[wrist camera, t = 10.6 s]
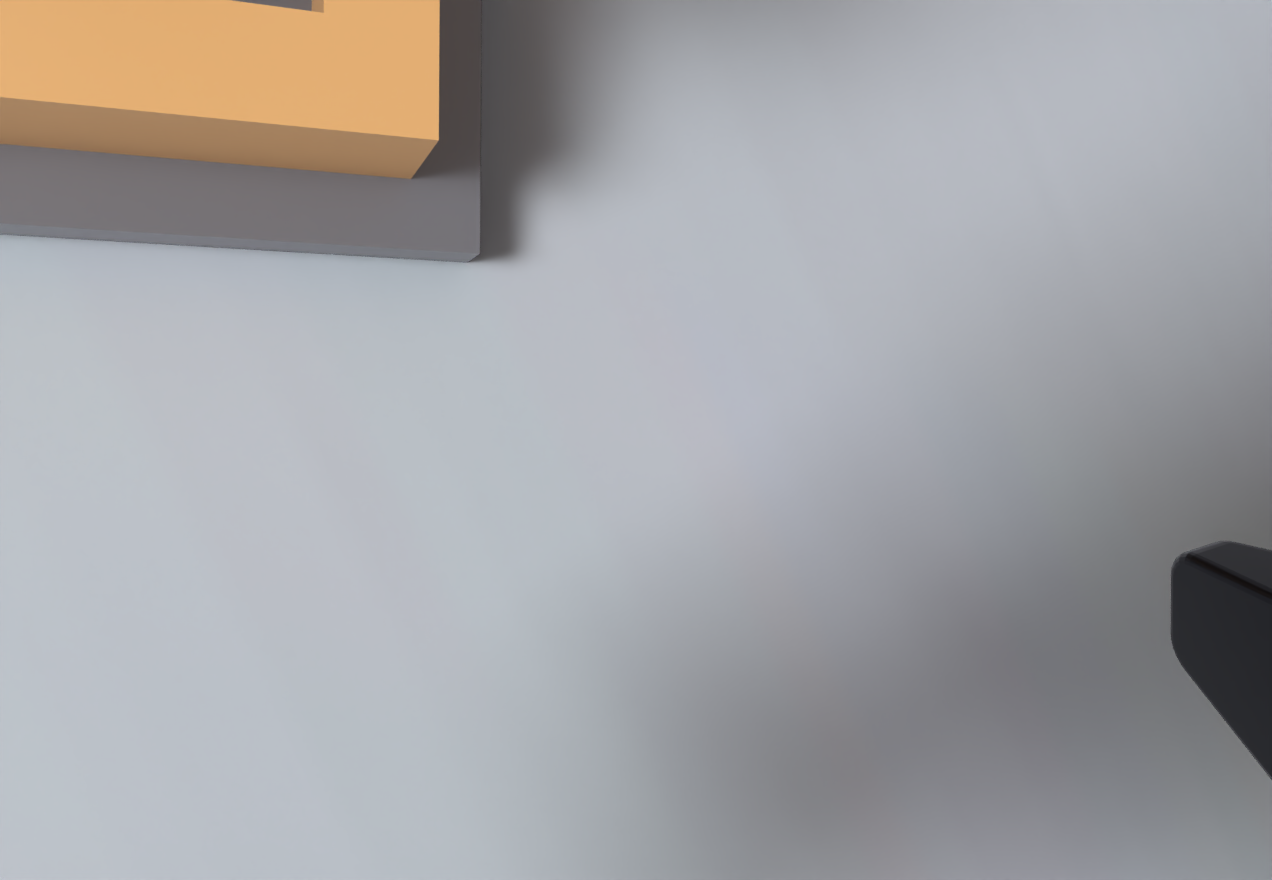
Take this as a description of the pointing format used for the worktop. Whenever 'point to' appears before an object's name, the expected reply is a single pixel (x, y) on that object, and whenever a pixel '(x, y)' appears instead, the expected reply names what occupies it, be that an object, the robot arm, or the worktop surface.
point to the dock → (244, 124)
